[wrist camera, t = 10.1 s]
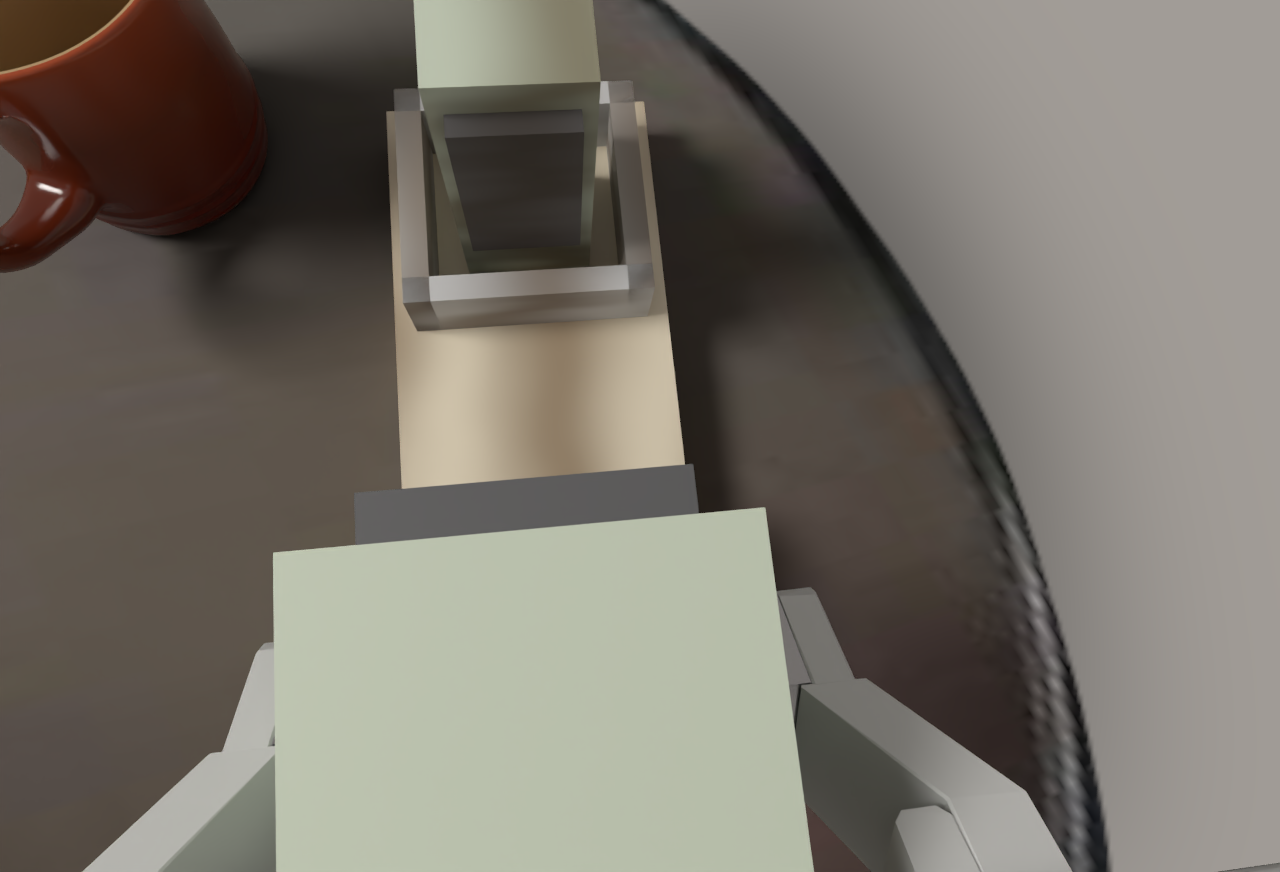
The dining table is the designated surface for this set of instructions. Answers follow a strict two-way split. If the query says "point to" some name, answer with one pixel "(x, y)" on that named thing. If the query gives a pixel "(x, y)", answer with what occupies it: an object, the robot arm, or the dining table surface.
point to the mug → (122, 120)
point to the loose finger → (536, 685)
